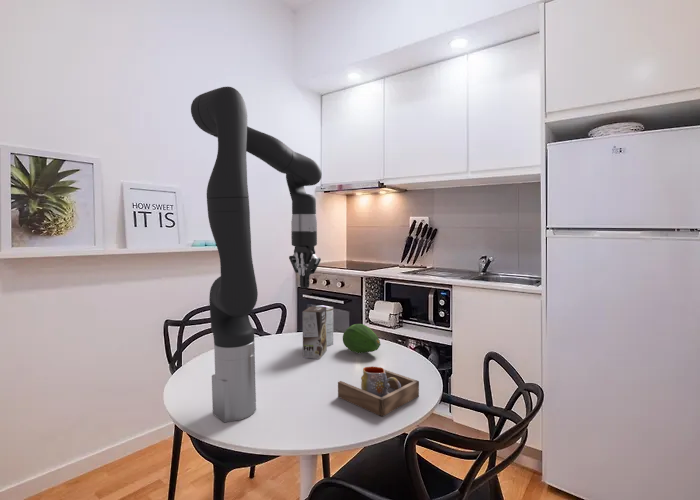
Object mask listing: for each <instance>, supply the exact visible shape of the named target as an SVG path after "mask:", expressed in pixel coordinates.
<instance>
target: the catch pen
mask: <svg viewBox="0 0 700 500" xmlns="http://www.w3.org/2000/svg"><path fill="white" fill-rule="evenodd" d="M384 370H385V373H386V376H387V379H388V378H390V377H394V378H396V379H397V380H398V381H399V383H400V384H401V388H399V389H398V386H397V384H396V382H395V381H393V380H390V381H388V383H389V384H390V387H389V388H391V389H393V390H394V391H391V392H389V394H387V395H385V396H383V397H379V396H377V395H374V394H372V393H369V392H367V391H364V390H362V389H361V388H359V387H357V386H354V385H352V384H349V383H347V382H344V381H342V380H340V381H339V380H338V381H337V397H338V398H340V399H342V400H344V401H347V402H348V403H350V404H353V405H356V406H357V407H359V408H361V409H364V410H366V411H368V412H371V413H373V414H375V415H377V416H379V417H384V416H387V415H388V414H389V413H392V412H393V411H395V410H397V409H398V408H400V407H402V406H404V405H406V404H408V403H409V402H412V401H413V400H414V399H416V398H418V397H419V396H420V381H419V380H416V379H414V378H410V377H407V376H405V375H401V374H398V373H395V372H393V371H390V370H387V369H384Z"/></svg>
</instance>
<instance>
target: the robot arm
mask: <svg viewBox="0 0 700 500" xmlns="http://www.w3.org/2000/svg"><path fill="white" fill-rule="evenodd" d="M246 105H247V104H246V102H245V99H244V97H243V95H242V94H241V93H240V91H238V90H237V89H236V88H235V87H233V86H222V87H221V86H220V87H218V88H215V89H212V90H208V91H206V92H204V93H200V94H199V95H197V96H196V97H195V98H194V99H192V102H191V104H190V113H191V117H192V120H193V122H194V123H195V125H196V126H197V128H199V129H200V130H201V131H203V132H205V133H207V134H208V135H210V136H213V137H215V138H217V154H216V159H215V162H214V166H213V168H212V170H211V174H210V176H209V180H208V181H207V187H206V205H207V215H208V216H207V217H208V222H209V227H210V230H211V234H212V237H213V239H214V242H215V245H216V248H217V252H218V255H219V262H220V276H219V277H217V278H216V279H215V280H214V281H213V283H212V285H211V286H210V288H209V314H210V315H209V316H210V327H211V328H210V329H211V332H212V336H213V344H214V348H213V349H214V353H213V354H214V374H212V375H211V397H212V399H211V401H212V414H213V415H214V416H215V417H216V418H218V419H219V420H220V421H222V422H223V423H228V422H232V421H239V420H243V419H246V418H248V417H251V416H252V415H253V414H255V412H256V410H257V396H256V395H257V392H256V390H257V389H256V388H257V387H256V360H255V359H256V355H255V350H256V349H255V330H254V326H252V324H251V322H250V318H249V314H250V313H251V312H252V311H253V310H254V308H255V307H256V305H257V301H258V286H257V279H256V274H255V269H254V268H255V267H254V264H253V256H252V255H253V253H252V233H251V212H250V210H251V209H250V198H249V196H250V195H249V187H248V169H247V167H248V165H247V153H249V154H250V155H252V156H253V157H256V158H258V159H259V160H261V161H262V162H264V163H265V164H267V165H269V166H270V167H271V168H273V169H274V170H276V171H278V172H279V173H280V174H285V180H286V184H287V187H288V191H289V196H290V199H291V221H290V222H291V229H290V230H291V232H290V233H291V234H290V235H291V246H292V247H294V250H293V254H292V255H289V256H288V258H289V262H290V264H291V266H292V268H293V270H294V272H295V274H296V273H297V274H298V276H299V287H300V288H301V289H309V288H310V276H311V275H313V274H315V273H316V271H317V268H318V267H319V265H320V263H321V261H322V260H321V257H318V256H317V254H316V249H315V246H317V245H318V224H317V223H318V221H317V220H318V219H317V206H316V205H317V200H316V197H315V196H314V195H313V194H309V193H306V190H305V187H311V186H315V185H317V184H319V182H320V181H321V179H322V176H323V175H322V169H321V168H320V165H319V164H318V163H317V162H316V161H315V160H314V159H312V158H311V157H308V156H305V155H304V154H302V153H298V152H296V151H294V150H293V149H292V148H290V147H289V146H288V145H287V144H285V143H284V142H283V141H281V140H280V139H278V138H277V137H275V136H272V135H270V134H268V133H265V132H262V131H259V130H257V129H254V128H252V127H249V126H248V110H247V106H246Z"/></svg>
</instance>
